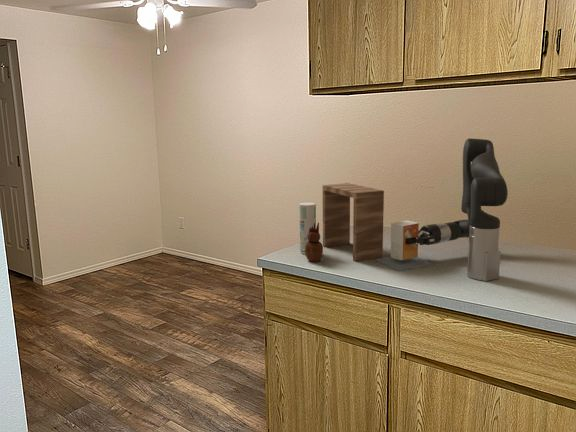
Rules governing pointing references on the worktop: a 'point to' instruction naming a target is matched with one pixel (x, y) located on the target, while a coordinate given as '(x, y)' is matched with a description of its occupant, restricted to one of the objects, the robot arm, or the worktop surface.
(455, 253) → the worktop surface
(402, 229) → the small box
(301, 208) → the spray can
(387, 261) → the mat
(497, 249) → the robot arm
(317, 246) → the wooden figurine
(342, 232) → the arch
